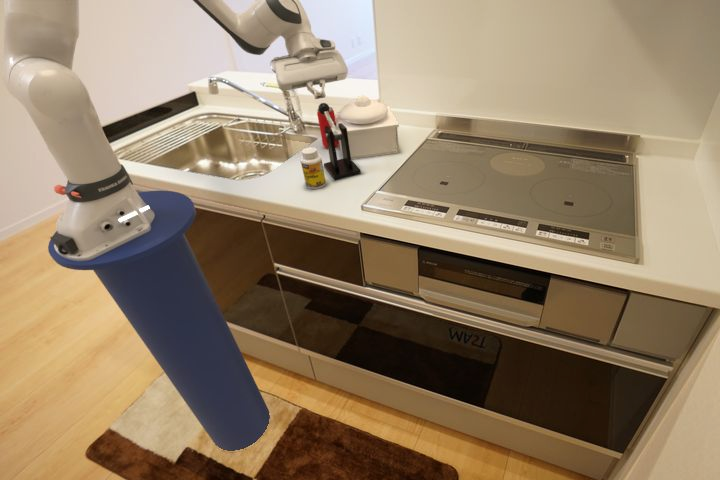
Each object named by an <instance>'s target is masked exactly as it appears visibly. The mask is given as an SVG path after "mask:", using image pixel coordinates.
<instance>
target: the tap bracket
mask: <svg viewBox="0 0 720 480" xmlns="http://www.w3.org/2000/svg"><path fill="white" fill-rule="evenodd" d="M338 127H339V129H340V131H341V133H342V140H341V146H342V152H343V158H340V159H338V155H337V150H336V149H337V148H335V143H334V137H333V131H332V130H331V129H330V128H329V127H328V126H326V127H324V128H325V136H326V139H327V145H328V149H327V150H328V156H329V161H328V162H324V163H323V168H324V169H325V170H326V171H327V173H328V174H329V176H331V178H332V180H333V181H339V180H342V179H346V178H350V177H354V176H357V175H361V174H362V171H361V169H360V167H358V165H356V164H355V162H354V161H353V159H351V155H350V148H349V141H348V134H347V128H346V127H345V126H344V125H343V124H342V123H340V124H338Z"/></svg>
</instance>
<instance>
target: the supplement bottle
mask: <svg viewBox="0 0 720 480" xmlns="http://www.w3.org/2000/svg"><path fill="white" fill-rule="evenodd" d="M300 164H301V169H302V173H303V178H304V183H305V186H306V187H307V188H308V189H311V190H318V189H321V188H323V187H324V186H326V183H327V182H326V181H327V180H326V175H325V170H324V169H325V168H324V163H323V159H322V156H321V155H320V154H319V153H318V149H317V148H316V147H313V146H312V147H311V146H309V147H305V148H303V149H302V150H301V157H300Z"/></svg>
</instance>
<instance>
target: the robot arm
mask: <svg viewBox="0 0 720 480" xmlns="http://www.w3.org/2000/svg"><path fill="white" fill-rule="evenodd" d="M192 2H194V3H195V4H196V5H197V6H198V7H199V8H200V9H201V10H202V11H203V12H204V13H205V14H207V15H208V17H210V19H212V20H213V21H214V22H215V23H216V24H218V25H219V27H221V28H222V29H223V30H224V31H225V32H227V34H229V36H230V37H231V38H232V40H234V42H235V43H236V44H237V46H239V48H240V49H241V50H243V51H244V52H246V53H248V54H250V55H256V56H261V55H263V54H264V53H265V52H266V51H267V50H268V49H269V48H270V47H271V45H272V44H273V43H274V42H275V41H276V40H277V39H278V38H280V37H282V39H284V45H285V49H286V51H287V55H286V54H285V55H282V56H275V57H273V59H271V60H270V61H269V66H270V68H271V70H272V72H273V73H274V74H275V79H276V83H277V86H278V89H279V90H281V91H282V92H287V91H292V90H297V89H301V88H306V89H307V91H308V92H310V94H312V95H313V97H314V100H319V99H325V98H326V96H327V95H326V91H325V87H326V84H329V83H333V82H339V81H345V80H346V79H347V76H348V74H349V70H348V69H349V68H348V66H347V64H346V61H345V59H344V57H343V55H342V53H340V51H339V50H338V49H336V43H335V41H333V40H331V39H325V38H320V37H316V36H315V34H314V33H313V31H312V25H311V21H310V19H309V16H308V14H307V13H306V10H305V8H304V6H303V5H302V3H301V1H300V0H254V1H253V2H252V4H251V5H249V7H248V8H247V9H246V10H244V12H241V13H237V12H235V11H234V10H233V9H232V8H231V6H229V5H228V4H227V3H226V2H225V1H224V0H192ZM3 13H4V14H3V15H4V17H3V33H2V79H3V83H4V86H5V87H6V89H7V90H8V92H9V94H11V95H12V96H13V97H14V98H15V99H16V100H17V101H18V102H19V103H20V105H22V106H23V107H24V108H25V110H26V112H27V113H28V115H29V116H30V118H31V120H32V122H33V123H34V125H35V127H36V129H37V130H38V132H39V134H40V135H41V137H42V139H43V141H44V143H45V145H46V147H47V150H48V151H49V152H50V154H51V156H52V157H53V159H54V160H55V163H57V165H58V166H59V168H60V170H61V171H62V173H63V174H64V176H65V177H66V179H67V181H66V186H64V185H61V184H57V185H55V186H54V187H53V190H54V192H55V193H56V194H58V195H62V196H65V195H66V196H67V198H68V201H67V203H66V204H65V206H64V209H63V210H62V212H61V213H60V215H59V217H58V219H57V220H56V223H55V228H56V231H57V232H58V233H57V234H56V235H54V234H53V235H54V236H53V235H52V236H50V237H49V238H50V240H52V241H53V242H54V244H55V245H54V248H55V250H56V252H57V253H58V254H59V255H60V256H62V257H64V258H66V259H69V260H74V261H88V260H91V259H94V258H96V257H98V256H100V255H102V254H104V253H106V252H108V251H110V250H112V249H114V248H116V247H118V246H120V245H122V244H124V243H126V242H128V241H130V240H133V239H135V238H137V237H139V236H141V235H143V234H145V233H147V232H149V231H150V230H151V223H152V221H153V220H154V217H155V214H154V212H153V211H152V210H151V209H150V208H149V206H147V205H146V204H145V202H144V201H143V200H142V199H141V197H140V196H139V194H138V193H139V192H138V191H137V190H136V189H135V187H134V183H133V181H132V179H131V176H130V174H129V173H128V171H127V170H126V168H125V166H124V165H123V164H122V163H121V162H120V161H119V159H118V157H117V155H116V153H115V151H114V150H113V147H112V145H111V144H110V141H109V140H108V138H107V136H106V134H105V131H104V129H103V127H102V124H101V120H100V117H99V115H98V112H97V110H96V108H95V105H94V103H93V101H92V98H91V96H90V94H89V91H88V89H87V87H86V84H85V83H84V82H83V80H82V79H81V77H80V76H79V75H78V74H77V73H76V72H74V71H73V66H74V65H73V64H74V58H75V57H74V56H75V51H76V46H77V41H78V39H79V37H80V0H3ZM318 85H319V88H321V89H316V88H314V86H318Z"/></svg>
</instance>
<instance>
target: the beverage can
mask: <svg viewBox="0 0 720 480" xmlns="http://www.w3.org/2000/svg"><path fill="white" fill-rule="evenodd" d="M329 108H330V111H329V115H330V117H331V119H332V121H333V123H334V125H335V127H336V121H335V111H334V109H333V107H331V106H329ZM316 114H317V120H318V126H319V131H320V137H321V141H322V145H323V147H324V149H325V150H328V145H327V139H326V136H325V128H324V127H326V126H328V127H329V128H330V129H331V127H330V125H329V123H328V121H327V119H326V117H325V115H322V114H321V113H320V112H319V110H318V109H317V110H316ZM334 143H335V149H338V147H339V145H340V144H339V141H334Z"/></svg>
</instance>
